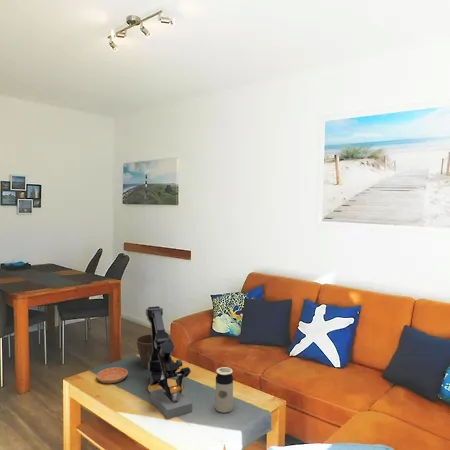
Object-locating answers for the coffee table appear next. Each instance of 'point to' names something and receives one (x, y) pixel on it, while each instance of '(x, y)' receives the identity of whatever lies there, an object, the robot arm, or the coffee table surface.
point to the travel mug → (224, 390)
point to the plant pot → (144, 348)
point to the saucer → (112, 375)
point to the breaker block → (170, 403)
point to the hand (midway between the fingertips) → (175, 394)
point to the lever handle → (174, 392)
